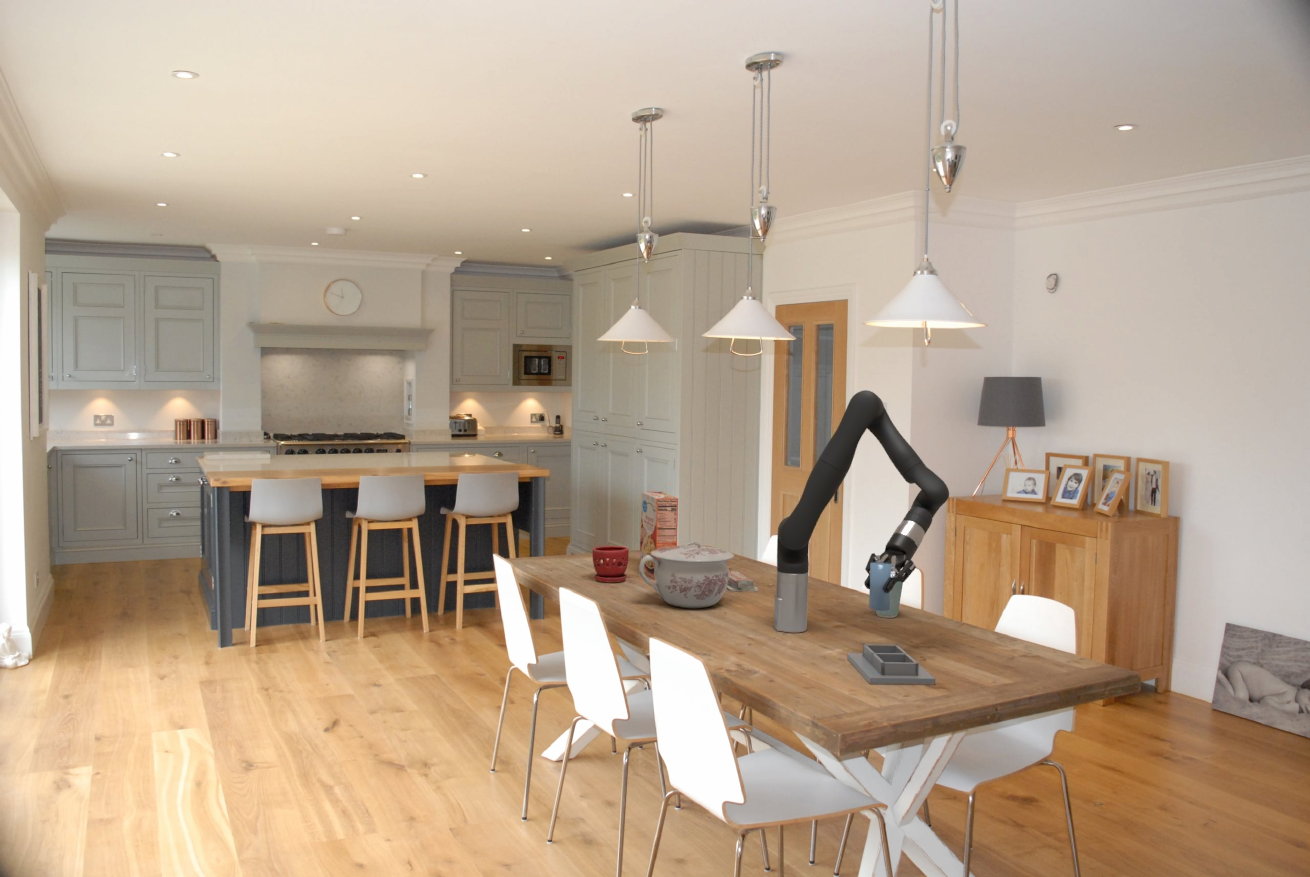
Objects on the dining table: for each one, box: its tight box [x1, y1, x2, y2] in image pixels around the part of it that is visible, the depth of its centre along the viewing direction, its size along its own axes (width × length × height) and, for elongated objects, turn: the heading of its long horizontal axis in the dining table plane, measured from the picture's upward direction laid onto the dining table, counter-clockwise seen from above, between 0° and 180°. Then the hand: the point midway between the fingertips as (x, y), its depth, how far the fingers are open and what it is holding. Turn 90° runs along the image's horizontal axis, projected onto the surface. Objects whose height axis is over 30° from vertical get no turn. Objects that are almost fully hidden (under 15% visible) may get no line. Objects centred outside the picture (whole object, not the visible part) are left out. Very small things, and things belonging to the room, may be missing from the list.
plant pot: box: [592, 545, 630, 583], centre depth 351 cm, size 13×13×12 cm
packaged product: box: [727, 570, 759, 593], centre depth 346 cm, size 18×5×10 cm
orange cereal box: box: [639, 491, 679, 581], centre depth 366 cm, size 23×8×30 cm, turn 15°
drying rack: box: [846, 643, 936, 686], centre depth 244 cm, size 16×22×4 cm
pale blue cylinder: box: [868, 562, 892, 611], centre depth 258 cm, size 6×6×12 cm
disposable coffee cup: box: [874, 573, 905, 619], centre depth 306 cm, size 11×11×15 cm
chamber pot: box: [637, 540, 735, 610], centre depth 315 cm, size 28×28×21 cm
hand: (876, 588), depth 257 cm, fingers closed on pale blue cylinder, 5 cm apart
